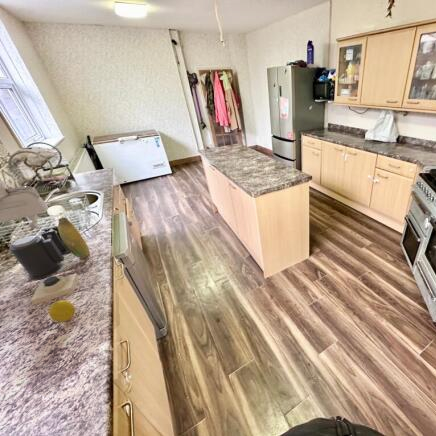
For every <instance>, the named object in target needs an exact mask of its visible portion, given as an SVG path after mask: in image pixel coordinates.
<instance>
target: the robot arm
mask: <svg viewBox="0 0 436 436" xmlns="http://www.w3.org/2000/svg"><path fill="white" fill-rule="evenodd" d="M48 209H49V206H48V205H47V203H46V202H45V200H44V199H43V198H42V197H41V196H40V193H39V192H38V190H37V189H36V188H35V187H32V186H28V185H22V186H17V187H10V188H8V187H7V185H6V183H5V182H4V180H2V177H0V224H1V223H6V222H10V221H15V220H20V219H25V218H28V219H29V220H31V222H30V223H29V224H28V226H29V228H30V229H31V230H35V229H39V227H40V225H39V223H38V215H42V214H45V213H46V212H47V211H48Z"/></svg>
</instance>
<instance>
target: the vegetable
mask: <svg viewBox="0 0 436 436" xmlns="http://www.w3.org/2000/svg"><path fill="white" fill-rule="evenodd" d="M57 227H58V231H59V234H60V236H61V238H62V240H63V243H64V244H65V246H66V247H67V248H68V249H69V250H70V252H71V254H72V255H73V256H75V257H76V258H79V259H80V258H81V259H84V258H87V257H89V255H90V248H89V245H88V243H87V242H86V241H85V239H84V237H83V236H82V234H81V233H80V232H79V230H78V229H77V227H76V226H75V225H74V224H73V222H71V221H70V220H69V219H68V218H67V217H63V216H62V217H60V218H59V219H58V224H57Z"/></svg>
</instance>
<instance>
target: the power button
mask: <svg viewBox="0 0 436 436" xmlns="http://www.w3.org/2000/svg"><path fill="white" fill-rule="evenodd" d="M56 276H57V275H53V276H51V277H48V278H46V279H43V282H42V283H44V284H45V285H46V286H47V287H49V286H52V285H54V284H56V283H57V282H58V281H59V279H58V278H57V277H56Z"/></svg>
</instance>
